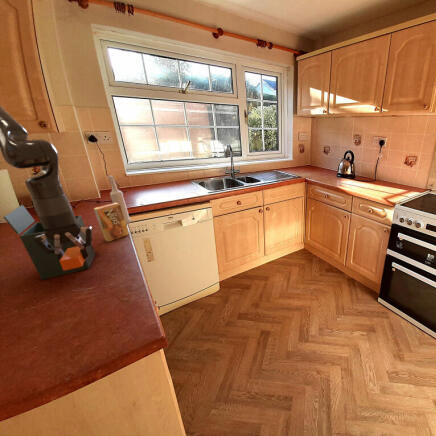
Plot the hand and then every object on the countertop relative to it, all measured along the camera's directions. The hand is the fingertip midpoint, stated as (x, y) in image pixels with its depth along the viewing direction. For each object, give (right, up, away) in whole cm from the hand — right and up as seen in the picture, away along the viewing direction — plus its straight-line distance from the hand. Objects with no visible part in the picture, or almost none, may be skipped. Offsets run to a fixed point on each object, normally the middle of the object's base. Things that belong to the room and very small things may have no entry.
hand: (75, 260), depth 78 cm
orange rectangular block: (0, -1, 0) cm, 1 cm away
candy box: (-11, +5, +34) cm, 36 cm away
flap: (-20, +13, +2) cm, 24 cm away
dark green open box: (-13, -4, +12) cm, 18 cm away
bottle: (-18, +11, +49) cm, 53 cm away
